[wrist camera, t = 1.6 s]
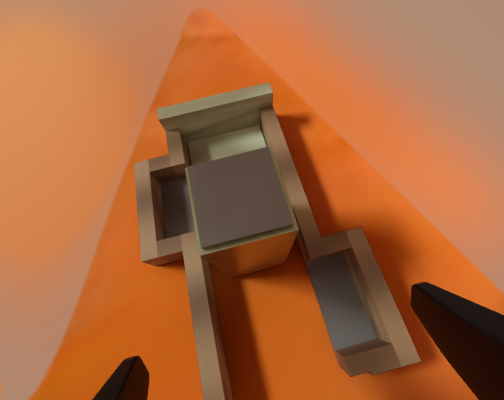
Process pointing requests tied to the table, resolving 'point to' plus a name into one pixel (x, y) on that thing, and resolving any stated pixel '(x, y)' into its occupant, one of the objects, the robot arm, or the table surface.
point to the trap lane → (311, 243)
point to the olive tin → (241, 212)
